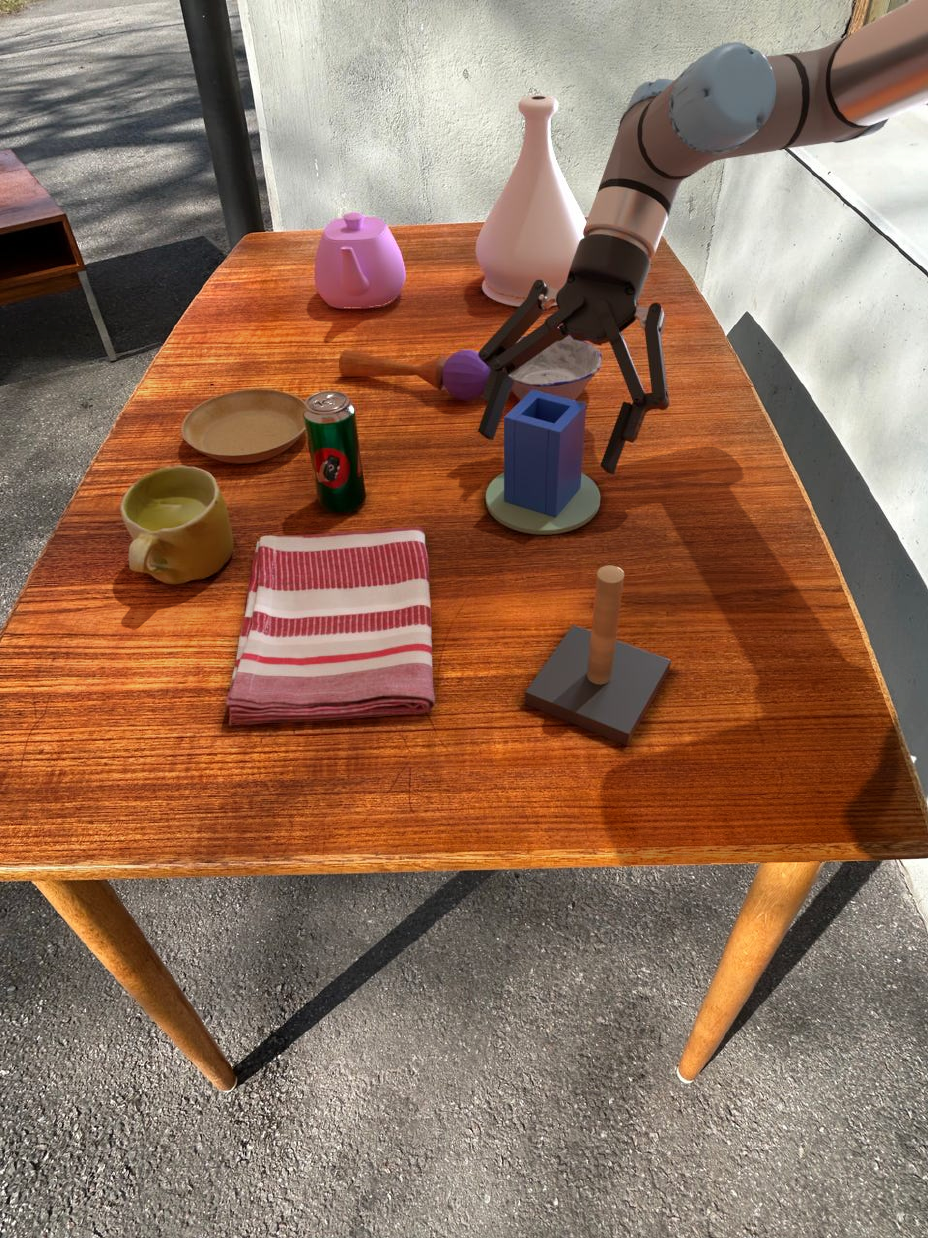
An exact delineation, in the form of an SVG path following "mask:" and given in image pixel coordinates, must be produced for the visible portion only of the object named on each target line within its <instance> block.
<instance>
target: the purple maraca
mask: <svg viewBox="0 0 928 1238" xmlns="http://www.w3.org/2000/svg"><path fill="white" fill-rule="evenodd" d="M478 353H479V351H476V350H472V349H461V350H459V351H457V352H453V353H452V354H451V355H450V357H447V356H446V355H445V354H444V355H440V356H438V357H436V358H433V359H430V360H428V361H426V362H423V363H421V364H419V365H414V364H411V363H406V362H401V361H397V360H393V359H388V358H385V357H379V356H376V355H371V354H370V355H369V354H367V353H362V352H358V351H354V350H348V349H344V350H343V351H342V352H341V353H340V356H339V360H338V368H339V373H340V374H341V376H342V377H345V378H347V377H348V378H351V377H390V376H391V377H392V376H394V377H395V376H417V377H419V378H420V379H422V380H423V381H425V382H426V383H428V384H429V385H431V386H432V387H434V388H436V389H437V390H438V391H444V390H446V391H447V392H448V393H447V394H449V395H451V396H452V397H454V398H455V399H456V400H458V401H462V402H463V401H464V402H465V401H466V402H470V401H473V400H476V399H479V398H481V397H483V392H484V390H485V386H486V384H487V381H488V378H489V375H490V372H491V369H490V367H488V366H487V365H486V364H485V363H484V362H483V361H482V360H481V359H480V358H479V356H478Z"/></svg>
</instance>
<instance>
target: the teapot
mask: <svg viewBox="0 0 928 1238" xmlns="http://www.w3.org/2000/svg"><path fill="white" fill-rule="evenodd" d="M315 254H316V255H315V259H314V270H313V271H314V287H315V289H316V291H317V292H318V295H319V296H320V297H321V299H322V300H323V301H324V302H325V303H326V304H327V305H328V306H330V307H331V308H335V309H345V310H359V309H361V310H362V309H363V310H364V309H375V308H384V307H386V306H387V305H390V304H392V303H393V302H394V301H395V300H396V299H397V298H398V296H399V295H400V293H401V291H402V289H403V288H404V285H405V282H406V279H407V275H406V273H407V272H406V267H405V263H404V259H403V256H402V255H403V254H402V252H401V249H400V247H399V245H398V243H397V241H396V239H395V237H394V235H393V233H392V231H391V230H390V228H389V226H388V225H387V224H386V222H385V221H384V220H383V219H381V218H379V217H376V216H366V215H365V214H363V213H361V212H357V211H355V212H353V211H352V212H348V213H346V214H344V215H343V217H341V218H340V217H339V218H336V219H333V220H332V221H330V222H329V223H328V224H327V225H326V226H325V227H324V229H323V231H322V234H321V236H320V240H319V243H318V246H317V250H316V253H315ZM397 295H398V296H397ZM394 298H395V299H394ZM393 299H394V300H393ZM391 300H393V301H392V302H390V303H388V302H389V301H391ZM385 303H388V304H385ZM382 304H385V305H382ZM375 305H381V306H375ZM369 306H374V307H369ZM344 307H351V308H344ZM352 307H361V308H352Z"/></svg>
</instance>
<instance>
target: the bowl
mask: <svg viewBox="0 0 928 1238" xmlns="http://www.w3.org/2000/svg"><path fill="white" fill-rule="evenodd" d="M526 336H527V335H525V336H522V337H521V338H520V339H519V340H518V341H517V342H519V341H520V340H521V339H523V338H524V337H526ZM517 342H516V343H517ZM602 356H603V355H602V354H601V350H600V348H599V349H598V348H596V347H595V346H594V345H593V344H592V343H588V341H578V340H573V338H572V337H571V336H567V337H566V338H564V339H563V340H561V341H556V342H555V343H553V344H552V345H551V346H549V347H548V348H546V349H545V350H544V351H542V352H541V353H539V354H538V355H536V356H535V357H534V358H532V359H531V360H529V361H528V362H527V363H525V364H524V365H522V366H521V367H520V368H518V369H517V370H515V371H514V372H513V373H511V374H510V375H509V377H510V378H511V379H512V380H513V381H514V383H513V385H512V388H511V391H512V393H513V394H514V396H515V397H516V398H517V399H518V400H519V402H520V401H521V400H522V399H523V398H524V397H525V396H526V395H527V394H528V393H529V392H530V391H531V390H536V391H540V392H543V393H547V394H551V395H555V396H559V397H563V398H567V399H571V400H575V401H576V399H578V398H580V396H581V394H582V393H583V391H584V390H585V388H586V387H587V385H588V384H589V383H590V381H591V380H592V379H593V377H595V375H596V374H597V373H598V372H599V371H600V370H601V366H602V363H603V362H602V360H603V359H602Z"/></svg>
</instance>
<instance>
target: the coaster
mask: <svg viewBox="0 0 928 1238" xmlns="http://www.w3.org/2000/svg"><path fill="white" fill-rule="evenodd" d="M485 505H486V509H487V511H488V512H489V515H491V517H493V518H494V519H495V520H496V521H497V522H498V523H500V524H501V525H503V526H504V527H506V528H509V529H511V530H514V531H517V532H521V533H525V534H530V535H539V536H541V535H548V536H549V535H557V534H564V533H567V532H572V531H574V530H576V529H578V528H581V527H583V526H585V525H586V524H588V523H589V522H591V520H592V519H593V518H594V517H595V516H596V514H597V513H598V511H599V508H600V505H601V493H600V490H599V487H598V486H597V485H596V483H595V482H594V481H593V480H592V479H591V478H590V477H589V476H587V475H586V474H584V472H582V473H581V487H580V489H579V490H578V491H577V492H576V494H575V495H574V496H573V497H572V498H571V500H570V501H569V502H568V503H567V504H566V506H565V507H564V508H563V509H562V511H561V512H560V513H559V514H558V515H557V517H556V518H555V517H552V516H549V515H546V514H542V513H539V512H536V511H533V510H530V509H526V508H523V507H520V506H517V505H513V504H510V503H507V502H504V471H503V472H501V473H500V474H498V475H497V476H495V477H494V479H492V481H491V482H490V483H489V484H488V486H487V488H486V491H485Z"/></svg>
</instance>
